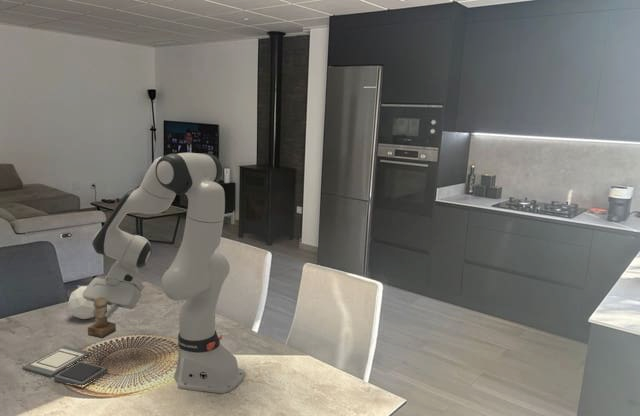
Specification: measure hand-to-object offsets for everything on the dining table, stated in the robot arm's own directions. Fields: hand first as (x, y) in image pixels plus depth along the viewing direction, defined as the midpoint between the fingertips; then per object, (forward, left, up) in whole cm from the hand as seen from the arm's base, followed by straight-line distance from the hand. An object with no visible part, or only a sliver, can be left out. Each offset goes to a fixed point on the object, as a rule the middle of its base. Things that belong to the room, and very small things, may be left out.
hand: (99, 315), depth 155 cm
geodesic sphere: (+31, -25, -16) cm, 43 cm away
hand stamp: (0, -1, -6) cm, 6 cm away
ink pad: (-2, +10, -16) cm, 19 cm away
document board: (+12, +6, -16) cm, 21 cm away
